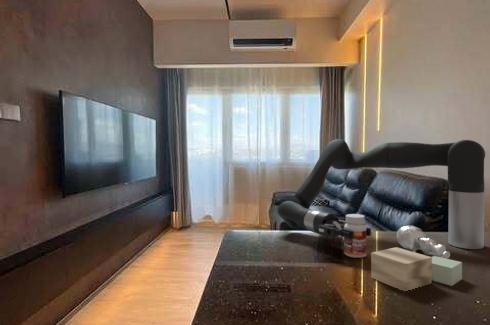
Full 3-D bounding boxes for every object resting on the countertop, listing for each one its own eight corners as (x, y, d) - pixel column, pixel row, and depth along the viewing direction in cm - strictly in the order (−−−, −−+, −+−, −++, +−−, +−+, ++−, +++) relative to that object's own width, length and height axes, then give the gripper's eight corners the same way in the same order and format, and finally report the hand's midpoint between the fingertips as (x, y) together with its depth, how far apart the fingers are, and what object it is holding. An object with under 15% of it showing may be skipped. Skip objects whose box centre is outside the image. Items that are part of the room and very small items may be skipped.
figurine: (442, 233, 85) (401, 213, 99) (423, 254, 85) (384, 230, 99) (459, 256, 89) (417, 233, 103) (441, 276, 88) (401, 250, 102)
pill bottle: (354, 259, 88) (354, 218, 88) (339, 253, 94) (339, 214, 93) (371, 256, 91) (371, 216, 90) (355, 250, 96) (355, 212, 96)
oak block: (396, 270, 80) (396, 247, 80) (431, 283, 72) (431, 257, 72) (371, 277, 76) (371, 252, 76) (405, 292, 68) (406, 264, 68)
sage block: (433, 271, 79) (434, 255, 79) (461, 279, 75) (461, 262, 75) (423, 277, 76) (423, 261, 76) (451, 285, 71) (451, 268, 71)
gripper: (303, 213, 101) (342, 223, 86) (337, 209, 108) (379, 217, 93) (303, 237, 101) (343, 251, 87) (337, 231, 108) (379, 243, 93)
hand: (361, 234), depth 90 cm, fingers closed on pill bottle, 6 cm apart
